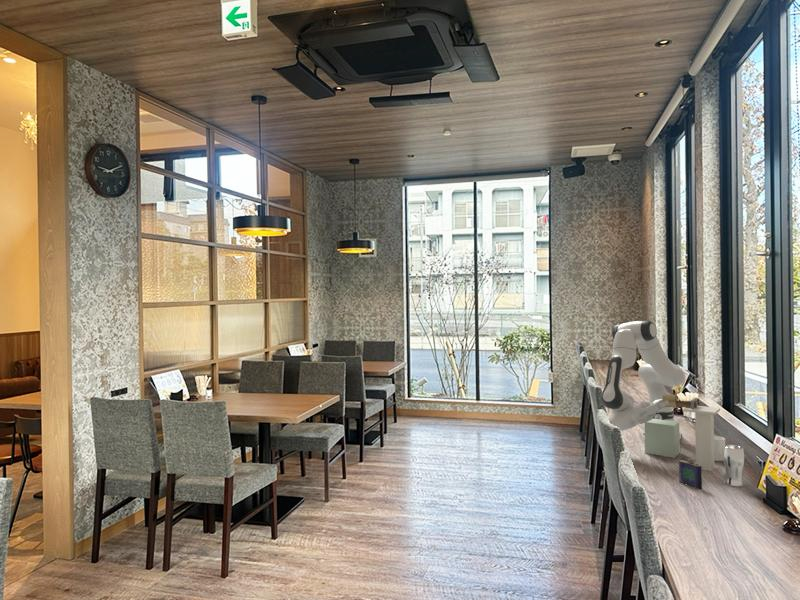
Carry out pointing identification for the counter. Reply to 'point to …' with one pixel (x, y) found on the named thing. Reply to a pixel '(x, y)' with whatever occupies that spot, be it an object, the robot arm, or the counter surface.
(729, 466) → the beer glass
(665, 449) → the sage pedestal
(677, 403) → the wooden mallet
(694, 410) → the tall stand
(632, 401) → the robot arm
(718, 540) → the counter surface
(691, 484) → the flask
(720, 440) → the white cup
